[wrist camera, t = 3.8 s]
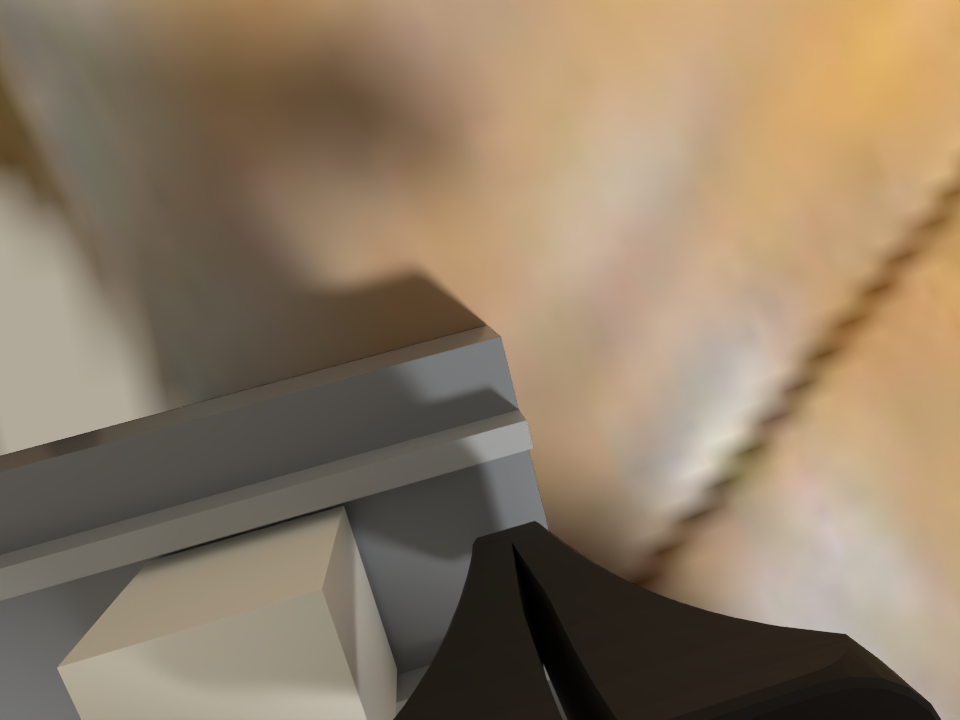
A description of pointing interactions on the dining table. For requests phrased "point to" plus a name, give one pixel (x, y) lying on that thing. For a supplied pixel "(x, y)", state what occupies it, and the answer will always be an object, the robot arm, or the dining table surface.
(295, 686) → the switch tab
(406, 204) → the dining table surface
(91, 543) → the switch board
